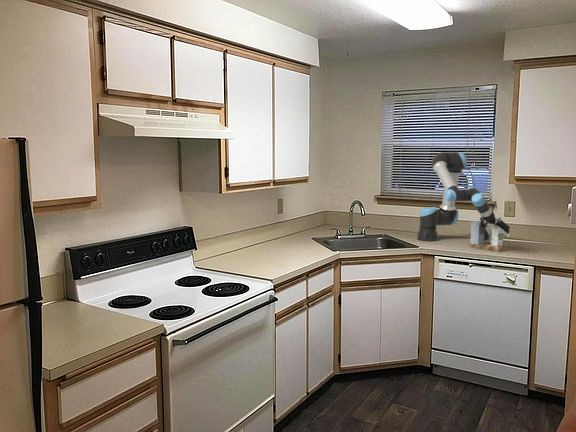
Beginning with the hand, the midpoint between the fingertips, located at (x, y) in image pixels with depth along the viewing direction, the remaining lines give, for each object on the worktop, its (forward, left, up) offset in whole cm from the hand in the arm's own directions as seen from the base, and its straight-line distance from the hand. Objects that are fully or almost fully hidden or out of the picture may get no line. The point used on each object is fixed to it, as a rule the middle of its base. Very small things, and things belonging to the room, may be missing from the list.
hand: (499, 234), depth 335 cm
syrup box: (0, -2, -8) cm, 9 cm away
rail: (-7, -2, -10) cm, 13 cm away
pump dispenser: (-20, +10, -10) cm, 25 cm away
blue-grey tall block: (-15, -2, -8) cm, 17 cm away
